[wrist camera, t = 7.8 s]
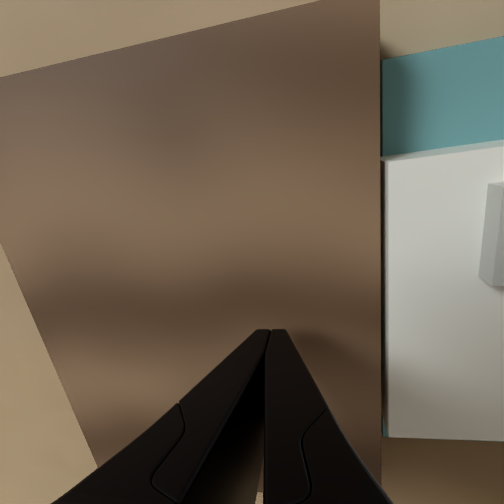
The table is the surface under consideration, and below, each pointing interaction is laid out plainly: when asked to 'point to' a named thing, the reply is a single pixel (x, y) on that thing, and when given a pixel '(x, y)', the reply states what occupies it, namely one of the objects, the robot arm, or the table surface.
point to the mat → (442, 101)
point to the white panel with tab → (443, 292)
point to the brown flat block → (202, 213)
